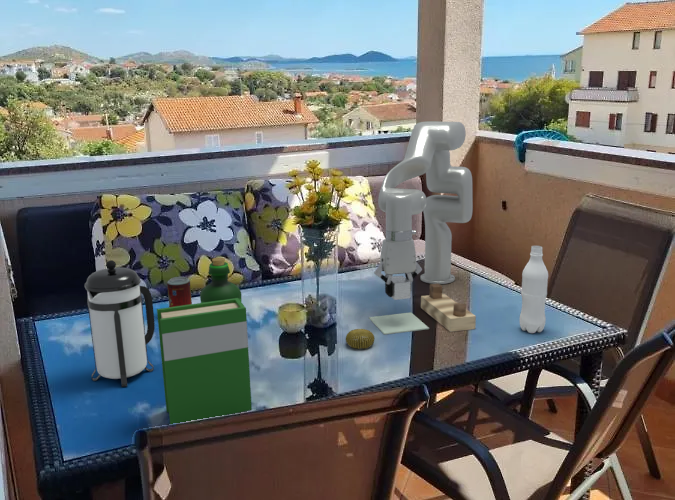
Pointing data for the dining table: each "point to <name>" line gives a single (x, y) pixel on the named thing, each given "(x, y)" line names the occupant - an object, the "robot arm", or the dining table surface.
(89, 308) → the coffee press
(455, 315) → the hand plane
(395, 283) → the grey block
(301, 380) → the dining table surface
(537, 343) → the dining table surface
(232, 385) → the hardback book
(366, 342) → the sculpture
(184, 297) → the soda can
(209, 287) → the bottle
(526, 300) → the water bottle
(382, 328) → the mat
